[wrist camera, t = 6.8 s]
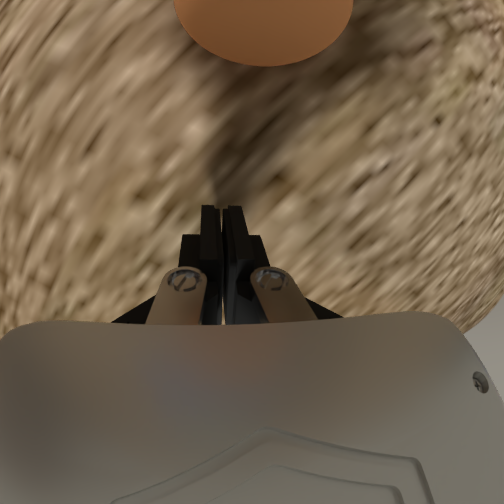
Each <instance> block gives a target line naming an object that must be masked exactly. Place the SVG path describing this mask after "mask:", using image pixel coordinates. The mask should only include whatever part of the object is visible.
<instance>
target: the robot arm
mask: <svg viewBox="0 0 504 504" xmlns="http://www.w3.org/2000/svg"><path fill="white" fill-rule="evenodd" d="M222 297H223V303H224V314H225V324H226V325H221V323H222ZM0 504H504V403H503V401H502V399H501V397H500V395H499V393H498V390H497V389H496V387H495V385H494V383H493V381H492V379H491V377H490V376H489V374H488V372H487V370H486V368H485V367H484V365H483V363H482V362H481V360H480V358H479V357H478V355H477V354H476V352H475V350H474V349H473V348H472V346H471V345H470V343H469V342H468V341H467V339H466V338H465V336H464V335H463V334H462V333H461V331H460V330H459V329H458V328H457V327H456V326H455V325H454V324H453V323H452V322H451V321H450V320H449V319H447V318H444V317H442V316H439V315H436V314H432V313H427V312H418V311H404V312H393V313H382V314H373V315H364V316H355V317H346V318H344V317H342V316H340V315H338V314H336V313H334V312H332V311H330V310H328V309H326V308H324V307H322V306H321V305H319V304H317V303H315V302H313V301H311V300H309V299H307V298H305V297H304V296H303V294H302V293H301V291H300V290H299V288H298V286H297V285H296V283H295V282H294V280H293V278H292V277H291V276H290V275H289V274H288V273H287V272H286V271H284V270H282V269H279V268H276V267H270V264H269V261H268V258H267V255H266V252H265V249H264V245H263V242H262V239H261V237H260V235H249V234H248V230H247V226H246V222H245V218H244V215H243V211H242V207H241V206H228V209H223V219H222V232H221V222H220V210H219V209H215V207H214V205H202V209H201V232H200V235H199V234H183V235H182V242H181V249H180V257H179V265H178V268H174V269H172V270H170V271H169V272H167V273H166V274H165V276H164V277H163V279H162V282H161V284H160V287H159V289H158V292H157V294H156V295H155V296H153V297H152V298H150V299H148V300H147V301H145V302H143V303H142V304H140V305H138V306H137V307H135V308H134V309H132V310H130V311H129V312H127V313H125V314H124V315H122V316H120V317H119V318H117V319H116V320H114V321H112V322H111V323H106V322H89V321H70V320H47V321H39V322H33V323H29V324H25V325H21V326H19V327H16V328H14V329H12V330H10V331H9V332H8V333H6V334H5V335H4V336H3V337H2V338H1V340H0Z"/></svg>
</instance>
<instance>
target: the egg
mask: <svg viewBox="0 0 504 504" xmlns="http://www.w3.org/2000/svg"><path fill="white" fill-rule="evenodd" d="M353 1H354V0H174V6H175V10H176V13H177V16H178V18H179V20H180V22H181V24H182V26H183V27H184V29H185V30H186V32H187V33H188V34H189V35H190V36H191V37H192V38H193V39H194V40H195V41H196V42H197V43H198V44H199V45H201V46H202V47H203V48H205V49H206V50H208V51H210V52H211V53H213V54H215V55H217V56H219V57H221V58H224V59H226V60H229V61H232V62H236V63H240V64H245V65H252V66H280V65H286V64H291V63H295V62H299V61H302V60H305V59H307V58H309V57H311V56H313V55H316V54H318V53H319V52H321V51H322V50H324V49H326V48H327V47H328V46H329V45H331V44H332V43H333V42H334V41H335V40H336V39H337V38H338V37H339V36H340V35H341V33H342V32H343V30H344V29H345V27H346V26H347V23H348V21H349V19H350V17H351V13H352V9H353Z"/></svg>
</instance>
